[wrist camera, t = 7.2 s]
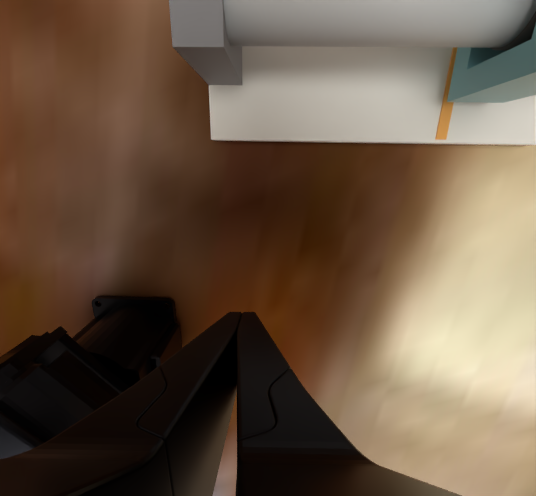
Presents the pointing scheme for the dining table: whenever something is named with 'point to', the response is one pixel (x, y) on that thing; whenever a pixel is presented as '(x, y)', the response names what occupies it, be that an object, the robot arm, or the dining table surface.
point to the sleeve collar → (494, 74)
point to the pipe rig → (351, 69)
